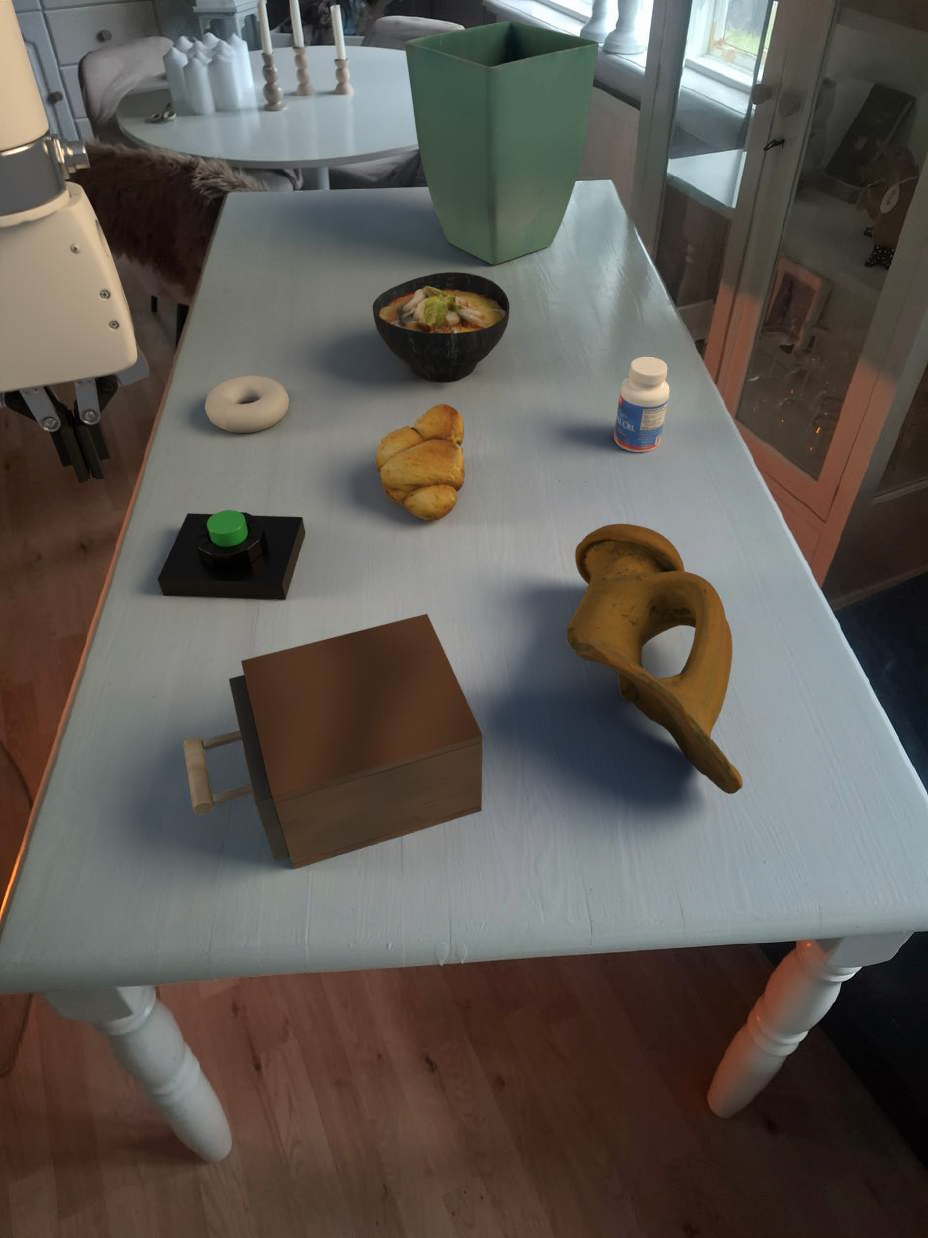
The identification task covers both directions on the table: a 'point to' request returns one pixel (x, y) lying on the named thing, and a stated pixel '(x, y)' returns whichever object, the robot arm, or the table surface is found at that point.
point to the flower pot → (501, 131)
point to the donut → (236, 415)
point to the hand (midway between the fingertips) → (91, 468)
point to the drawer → (255, 765)
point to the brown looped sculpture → (643, 608)
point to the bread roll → (424, 463)
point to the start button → (227, 528)
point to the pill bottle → (642, 405)
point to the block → (234, 560)
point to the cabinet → (364, 738)
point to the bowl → (442, 323)
